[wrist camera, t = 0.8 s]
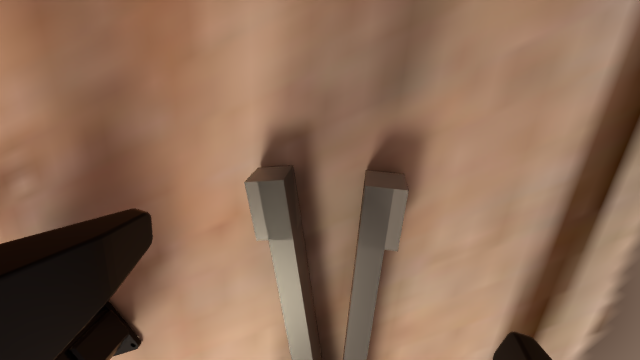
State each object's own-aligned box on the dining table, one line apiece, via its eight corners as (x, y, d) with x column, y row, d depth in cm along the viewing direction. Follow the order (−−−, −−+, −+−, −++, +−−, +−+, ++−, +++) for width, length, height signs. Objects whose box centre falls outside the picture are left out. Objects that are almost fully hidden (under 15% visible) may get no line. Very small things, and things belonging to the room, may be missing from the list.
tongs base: (358, 444, 31) (357, 479, 29) (308, 434, 32) (302, 468, 29) (403, 173, 21) (408, 190, 18) (328, 165, 21) (322, 181, 19)
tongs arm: (330, 414, 30) (326, 446, 27) (304, 412, 30) (298, 443, 28) (293, 165, 21) (283, 180, 19) (258, 167, 22) (244, 182, 19)
